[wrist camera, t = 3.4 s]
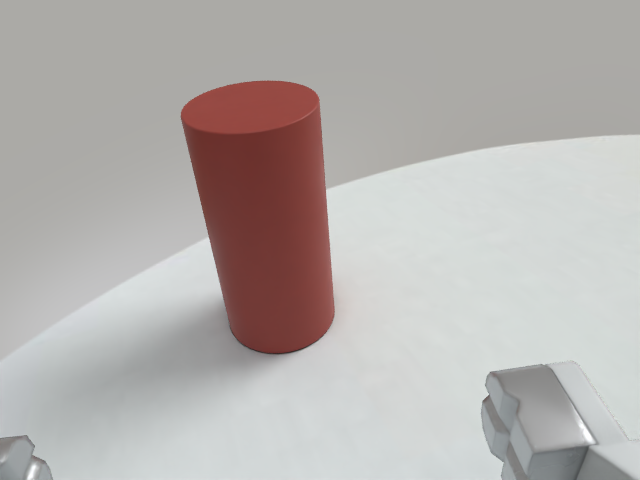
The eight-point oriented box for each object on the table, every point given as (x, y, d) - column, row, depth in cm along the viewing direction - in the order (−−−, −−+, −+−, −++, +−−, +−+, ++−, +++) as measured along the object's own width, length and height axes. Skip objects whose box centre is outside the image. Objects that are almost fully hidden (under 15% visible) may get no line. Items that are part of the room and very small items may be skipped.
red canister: (234, 364, 22) (180, 143, 16) (225, 290, 26) (179, 90, 20) (346, 340, 22) (333, 119, 17) (321, 271, 26) (304, 73, 20)
